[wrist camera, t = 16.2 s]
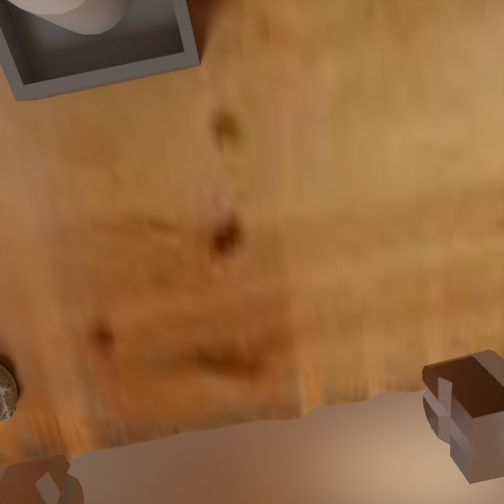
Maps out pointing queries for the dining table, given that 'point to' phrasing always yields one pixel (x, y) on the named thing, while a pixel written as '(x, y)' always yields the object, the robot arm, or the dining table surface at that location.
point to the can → (78, 13)
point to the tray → (93, 49)
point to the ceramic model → (7, 394)
